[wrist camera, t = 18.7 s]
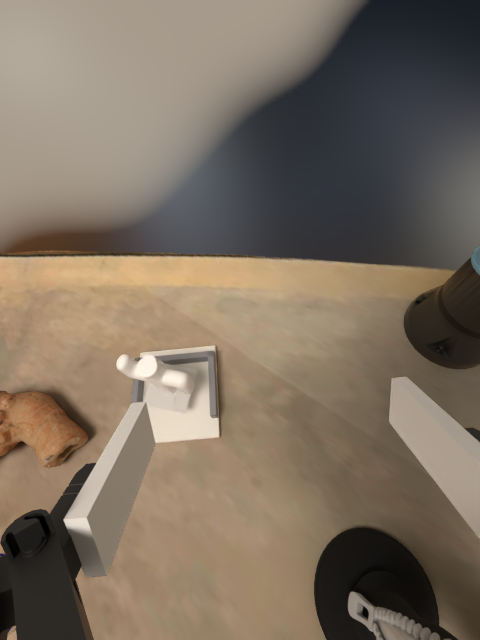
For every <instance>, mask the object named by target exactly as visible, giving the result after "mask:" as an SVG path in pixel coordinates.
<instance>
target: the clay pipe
mask: <svg viewBox="0 0 480 640" xmlns="http://www.w3.org/2000/svg"><path fill="white" fill-rule="evenodd" d="M21 441H23V442H25V443H26V444H27V445H28V446H30V447H32V448H33V449H34V451H35V454H36V456H37V458H38V460H39V462H40V463H41V464H42V465H43V467H45V468H51V467H56V466H60V465H61V464H62V463H63V462H64V460H65V458H66V457H67V456H68V455H69V454H70V453H71V452H72V451H74V450H75V449H77V448H80V447H82V446H83V445H84V444H85V443H86V442H87V441H88V435H87V434H86V433H85V432H84V431H83V430H82V429H81V428H80V427H79V426H78V425H77V424H75V423H74V422H73V421H72V420H70V419H69V418H68V417H67V415H66V413H65V412H64V411H63V410H62V409H61V408H60V407H59V406H58V405H57V403H56V402H55V401H54V400H53V398H52V397H50V396H49V395H47V394H44V393H42V392H34V391H30V392H22V393H14V394H8V393H7V392H6V391H0V456H2V455H5V454H6V453H7V452H8V451H9V450H10V449H12V448H14V447H15V446H16V445H17V444H18V443H19V442H21Z"/></svg>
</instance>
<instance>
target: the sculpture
mask: <svg viewBox="0 0 480 640" xmlns="http://www.w3.org/2000/svg"><path fill="white" fill-rule="evenodd" d="M314 596H315V605H316V610H317V615H318V618H319V622H320V625H321V627H322V630H323V632H324V635H325V637H326V639H327V640H458V639H457V638H455V637H454V636H453V635H452V634H450V633H449V632H447V631H446V630H445V629H443V628H442V627H440V626H439V615H438V608H437V603H436V599H435V595H434V592H433V589H432V586H431V584H430V582H429V579H428V577H427V575H426V574H425V572H424V570H423V568H422V567H421V565H420V564H419V562H418V561H417V559H416V558H415V557H414V556H413V555H412V554H411V552H410V551H409V550H408V549H407V548H405V547H404V546H403V545H402V544H401V543H399V542H398V541H397V540H395V539H394V538H392V537H390V536H389V535H387V534H384V533H382V532H380V531H377V530H373V529H368V528H356V529H351V530H348V531H345V532H343V533H341V534H339V535H338V536H337V537H335V538H334V539H333V540H332V541H331V542H330V543H329V544H328V545H327V547H326V548H325V550H324V551H323V553H322V555H321V557H320V560H319V562H318V565H317V569H316V574H315V581H314Z"/></svg>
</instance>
